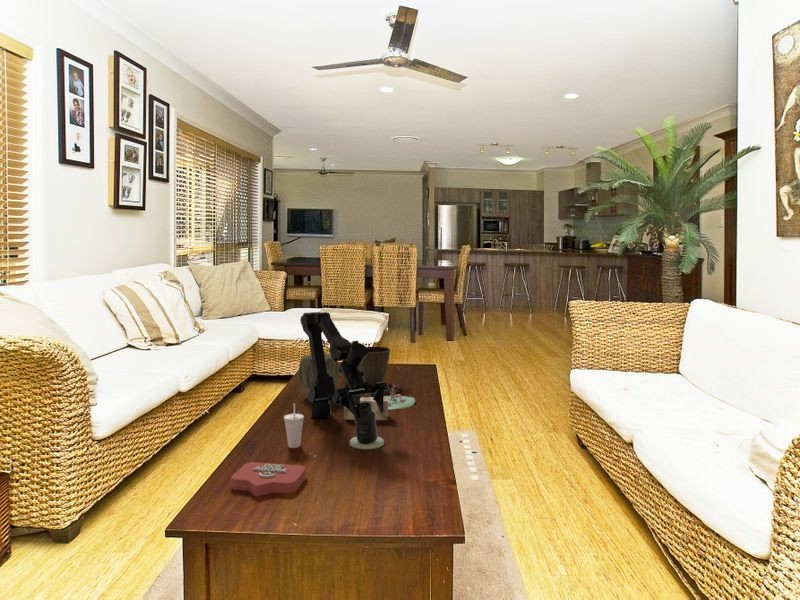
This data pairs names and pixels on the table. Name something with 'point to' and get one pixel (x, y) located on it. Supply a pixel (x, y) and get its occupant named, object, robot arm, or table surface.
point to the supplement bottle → (365, 424)
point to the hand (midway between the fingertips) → (370, 414)
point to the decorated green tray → (398, 400)
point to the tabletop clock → (308, 372)
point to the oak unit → (374, 407)
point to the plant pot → (375, 364)
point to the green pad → (374, 445)
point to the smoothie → (294, 428)
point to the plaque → (268, 478)
